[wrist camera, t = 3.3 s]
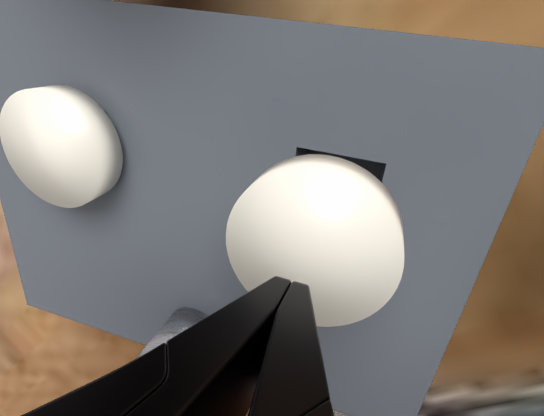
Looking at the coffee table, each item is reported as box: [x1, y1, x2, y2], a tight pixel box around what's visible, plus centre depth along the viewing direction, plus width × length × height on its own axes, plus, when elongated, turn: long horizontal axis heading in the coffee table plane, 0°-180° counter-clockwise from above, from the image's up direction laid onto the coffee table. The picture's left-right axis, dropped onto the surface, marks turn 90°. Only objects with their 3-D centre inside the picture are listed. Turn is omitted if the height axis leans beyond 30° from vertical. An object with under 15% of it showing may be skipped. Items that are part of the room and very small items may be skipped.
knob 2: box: [226, 154, 404, 327], centre depth 12 cm, size 5×5×4 cm
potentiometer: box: [138, 307, 207, 357], centre depth 18 cm, size 3×3×5 cm
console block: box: [0, 0, 544, 416], centre depth 19 cm, size 24×18×5 cm
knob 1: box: [0, 85, 123, 208], centre depth 18 cm, size 5×5×4 cm
